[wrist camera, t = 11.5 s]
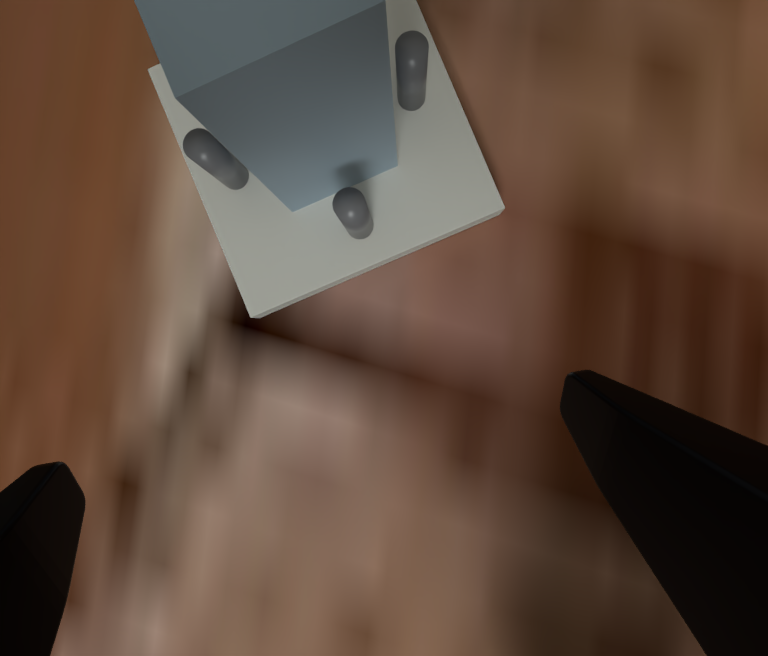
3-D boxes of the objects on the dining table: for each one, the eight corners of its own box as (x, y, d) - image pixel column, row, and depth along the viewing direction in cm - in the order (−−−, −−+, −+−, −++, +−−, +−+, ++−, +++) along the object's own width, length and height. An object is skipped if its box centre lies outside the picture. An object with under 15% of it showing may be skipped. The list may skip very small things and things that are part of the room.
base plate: (499, 214, 21) (526, 182, 16) (259, 317, 21) (217, 315, 17) (396, -26, 21) (392, -128, 16) (162, 83, 21) (93, 15, 17)
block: (397, 165, 20) (385, 0, 10) (292, 212, 20) (174, 97, 10) (353, 60, 20) (295, -212, 10) (248, 108, 20) (88, -109, 10)
